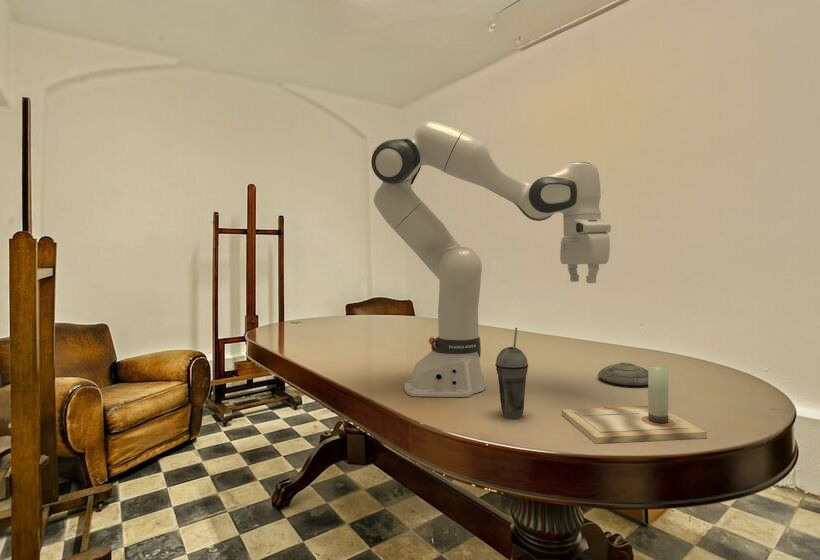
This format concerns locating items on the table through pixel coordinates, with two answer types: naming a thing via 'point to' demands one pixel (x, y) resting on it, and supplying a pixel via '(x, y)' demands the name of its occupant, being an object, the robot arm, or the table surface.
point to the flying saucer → (624, 374)
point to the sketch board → (629, 425)
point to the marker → (658, 394)
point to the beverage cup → (512, 380)
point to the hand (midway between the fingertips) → (582, 282)
